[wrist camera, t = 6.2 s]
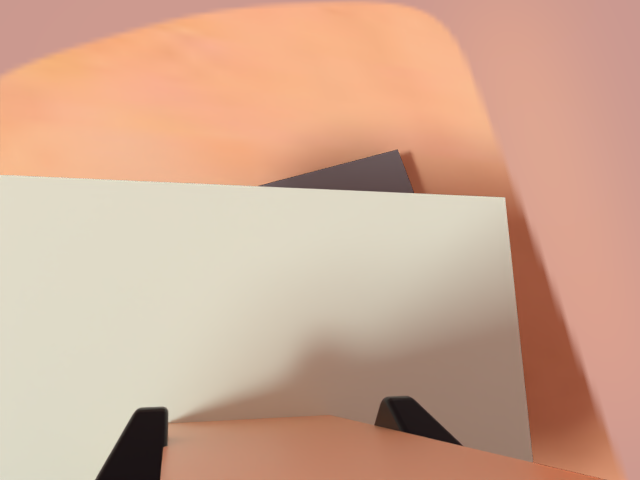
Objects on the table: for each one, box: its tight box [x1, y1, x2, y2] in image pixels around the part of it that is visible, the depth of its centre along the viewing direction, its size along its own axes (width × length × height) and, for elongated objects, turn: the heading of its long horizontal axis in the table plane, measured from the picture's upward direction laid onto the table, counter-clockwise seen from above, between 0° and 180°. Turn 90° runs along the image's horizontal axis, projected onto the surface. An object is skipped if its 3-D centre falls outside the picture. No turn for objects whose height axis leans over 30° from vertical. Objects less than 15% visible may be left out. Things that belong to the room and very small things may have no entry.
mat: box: [260, 150, 414, 193], centre depth 21 cm, size 16×13×1 cm
